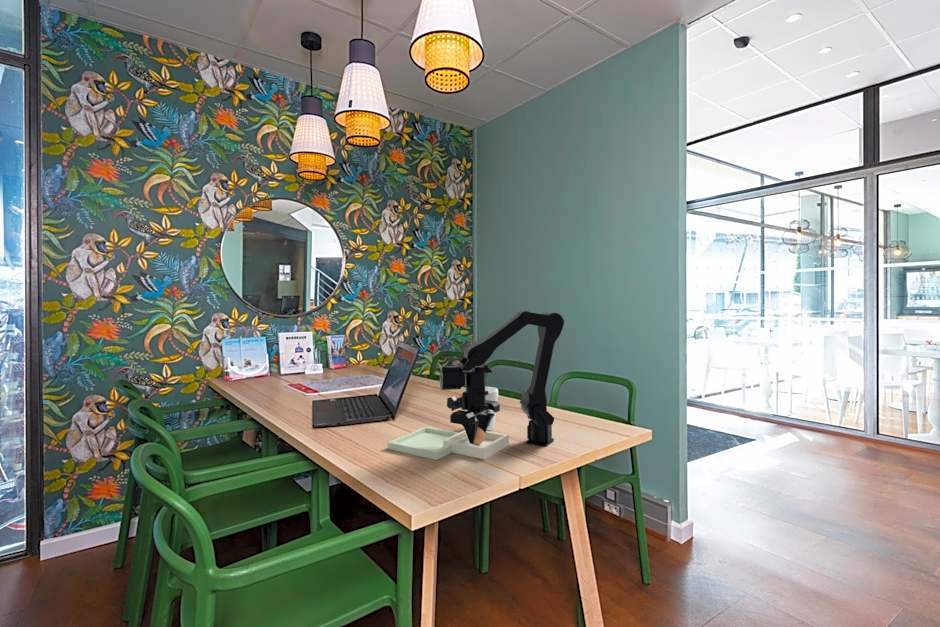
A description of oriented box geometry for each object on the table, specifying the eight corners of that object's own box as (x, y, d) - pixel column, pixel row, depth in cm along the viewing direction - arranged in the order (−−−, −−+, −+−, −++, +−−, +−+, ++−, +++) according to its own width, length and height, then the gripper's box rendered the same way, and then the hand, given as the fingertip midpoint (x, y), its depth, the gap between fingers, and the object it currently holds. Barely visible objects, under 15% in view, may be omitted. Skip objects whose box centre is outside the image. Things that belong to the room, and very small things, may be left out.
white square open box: (508, 444, 134) (508, 434, 134) (484, 459, 122) (484, 448, 122) (469, 437, 142) (469, 427, 142) (443, 450, 130) (443, 440, 130)
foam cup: (465, 430, 150) (465, 391, 149) (478, 422, 158) (477, 386, 157) (491, 433, 145) (491, 393, 145) (503, 426, 153) (502, 388, 153)
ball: (488, 443, 133) (487, 426, 133) (479, 448, 129) (479, 430, 128) (473, 440, 135) (473, 424, 135) (464, 445, 131) (464, 428, 131)
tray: (472, 441, 138) (472, 435, 137) (436, 460, 122) (436, 452, 122) (425, 432, 147) (425, 426, 147) (387, 448, 132) (387, 442, 132)
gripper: (469, 380, 144) (470, 428, 144) (434, 391, 128) (435, 445, 128) (500, 383, 137) (501, 433, 138) (467, 395, 122) (468, 452, 122)
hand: (476, 440), depth 132 cm, fingers closed on ball, 5 cm apart
